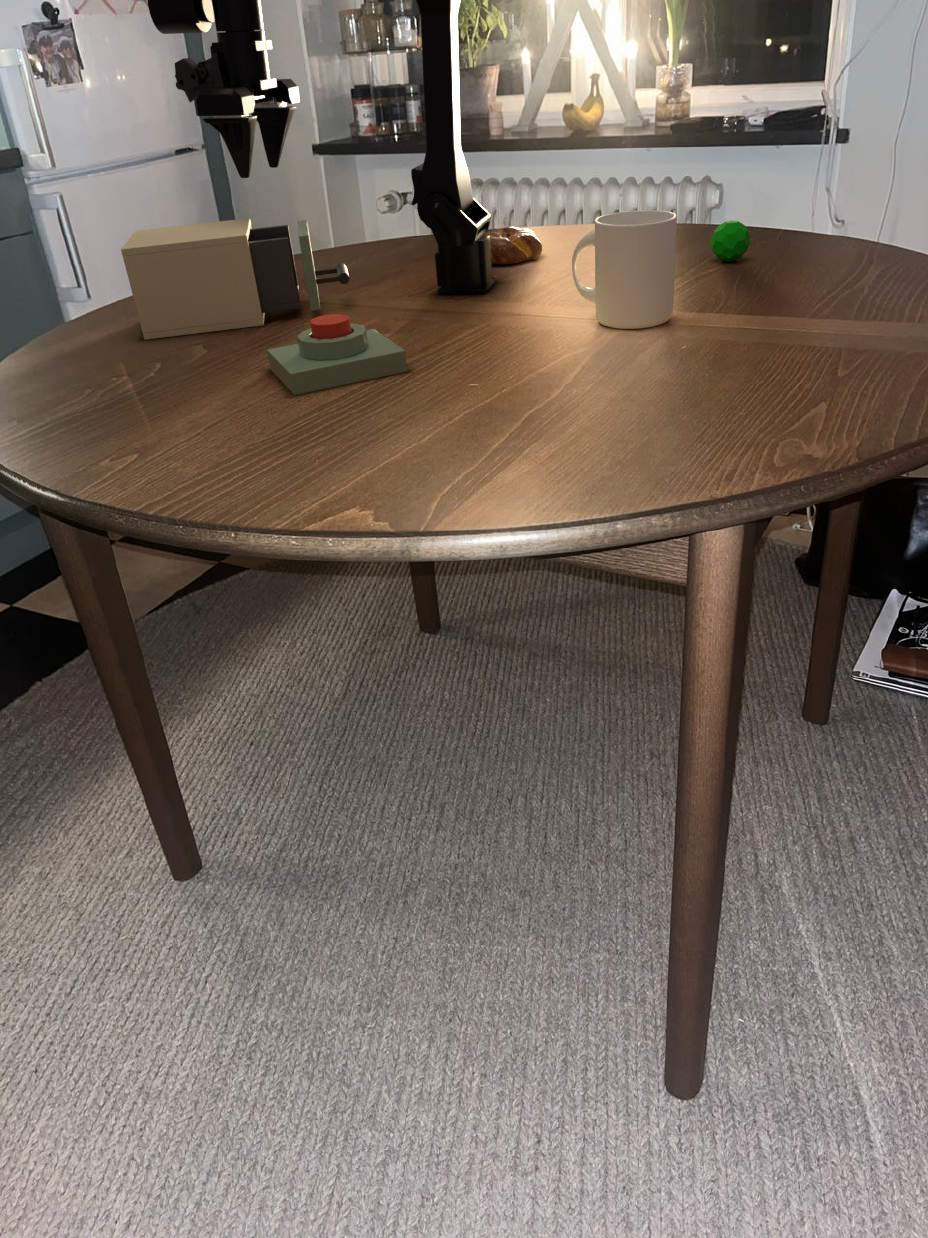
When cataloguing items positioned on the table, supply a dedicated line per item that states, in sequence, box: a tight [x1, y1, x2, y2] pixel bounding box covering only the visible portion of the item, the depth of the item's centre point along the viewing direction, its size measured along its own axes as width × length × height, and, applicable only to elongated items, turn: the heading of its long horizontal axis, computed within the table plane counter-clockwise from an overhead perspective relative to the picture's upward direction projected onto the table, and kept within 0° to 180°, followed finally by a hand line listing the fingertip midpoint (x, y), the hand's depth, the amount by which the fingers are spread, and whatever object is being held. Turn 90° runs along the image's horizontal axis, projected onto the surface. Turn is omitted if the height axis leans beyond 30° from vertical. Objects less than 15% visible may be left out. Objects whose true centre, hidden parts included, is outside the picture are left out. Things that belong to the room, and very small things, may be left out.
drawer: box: [248, 219, 350, 314], centre depth 119 cm, size 18×11×9 cm, turn 99°
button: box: [309, 313, 352, 339], centre depth 96 cm, size 4×4×2 cm
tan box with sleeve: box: [120, 217, 266, 341], centre depth 118 cm, size 15×13×11 cm
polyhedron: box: [710, 220, 751, 262], centre depth 125 cm, size 5×5×5 cm
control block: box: [266, 322, 408, 396], centre depth 97 cm, size 12×10×4 cm
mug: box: [571, 209, 678, 330], centre depth 104 cm, size 9×12×11 cm
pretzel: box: [483, 226, 543, 265], centre depth 137 cm, size 12×11×4 cm
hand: (259, 172), depth 122 cm, fingers open, 9 cm apart
